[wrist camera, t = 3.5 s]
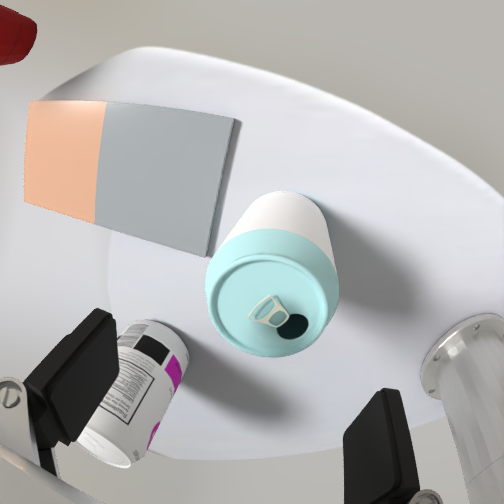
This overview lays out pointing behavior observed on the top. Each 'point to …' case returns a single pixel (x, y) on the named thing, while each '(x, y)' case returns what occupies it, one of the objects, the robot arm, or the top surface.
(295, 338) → the can
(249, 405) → the top surface
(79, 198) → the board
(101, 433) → the supplement can
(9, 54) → the plastic cup
